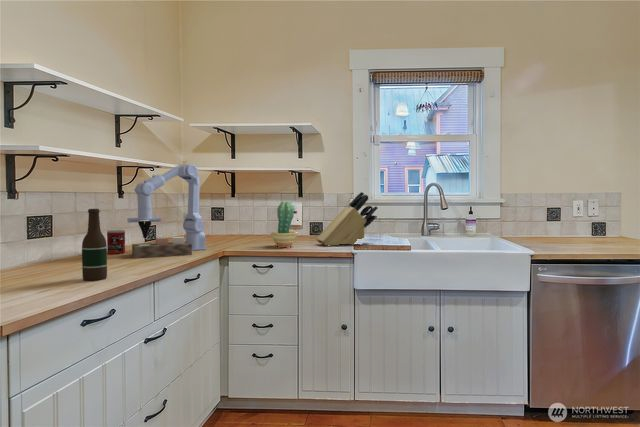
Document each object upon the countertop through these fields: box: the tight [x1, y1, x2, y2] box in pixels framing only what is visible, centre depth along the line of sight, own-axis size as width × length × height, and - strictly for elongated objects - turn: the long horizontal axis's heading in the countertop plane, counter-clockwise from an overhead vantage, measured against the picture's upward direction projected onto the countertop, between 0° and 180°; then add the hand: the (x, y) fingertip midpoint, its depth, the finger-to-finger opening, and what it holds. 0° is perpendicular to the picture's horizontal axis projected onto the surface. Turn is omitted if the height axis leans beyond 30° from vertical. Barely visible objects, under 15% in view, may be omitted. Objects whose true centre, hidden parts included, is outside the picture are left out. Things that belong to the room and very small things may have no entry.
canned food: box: [106, 229, 126, 255], centre depth 200 cm, size 8×8×11 cm
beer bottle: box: [81, 208, 108, 282], centre depth 141 cm, size 8×8×24 cm
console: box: [131, 240, 193, 259], centre depth 197 cm, size 25×13×5 cm, turn 118°
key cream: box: [171, 236, 186, 244], centre depth 200 cm, size 5×5×4 cm
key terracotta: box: [155, 236, 169, 245], centre depth 197 cm, size 5×5×4 cm
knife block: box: [316, 191, 378, 246], centre depth 241 cm, size 11×35×31 cm, turn 112°
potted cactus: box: [270, 201, 299, 248], centre depth 228 cm, size 15×15×25 cm
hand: (144, 237), depth 193 cm, fingers closed
